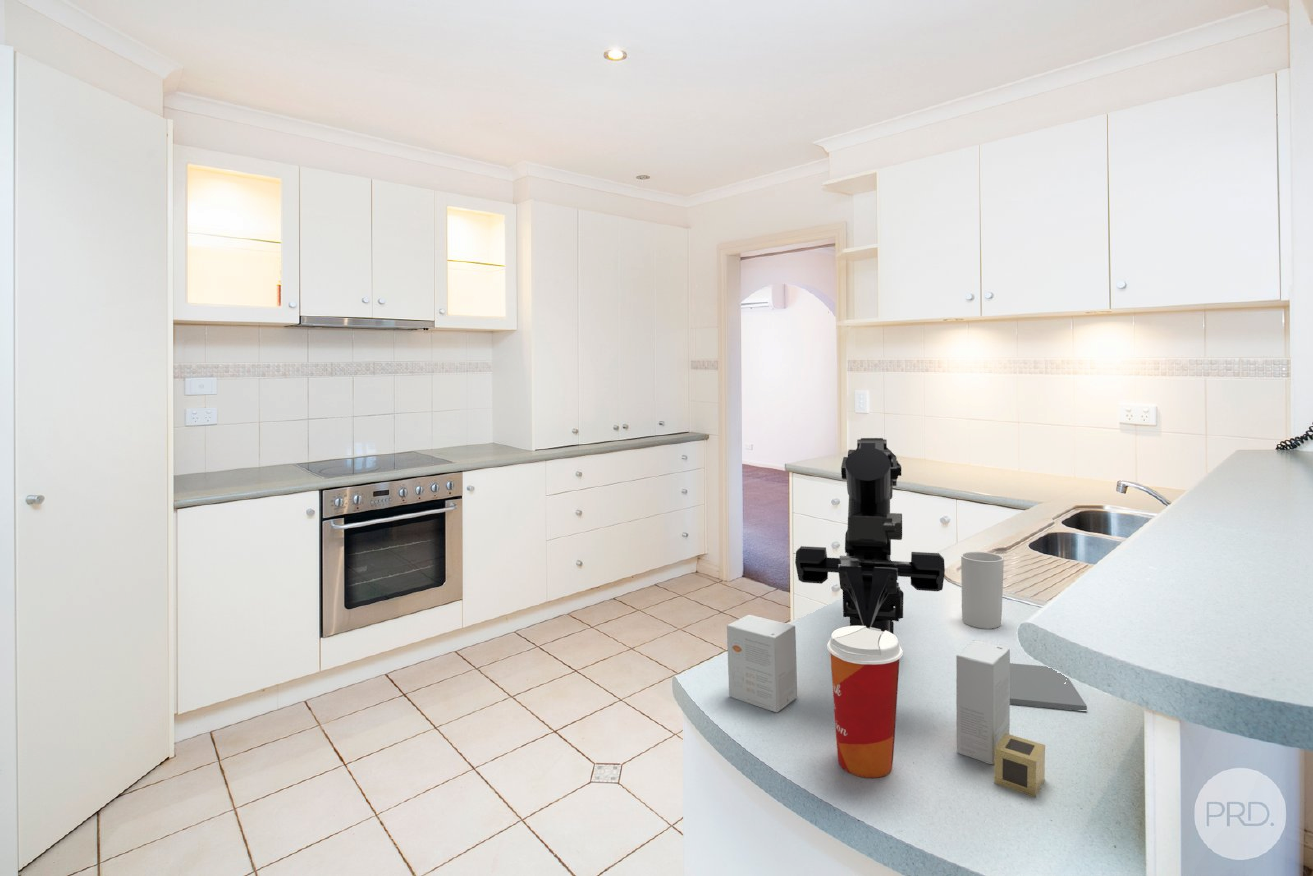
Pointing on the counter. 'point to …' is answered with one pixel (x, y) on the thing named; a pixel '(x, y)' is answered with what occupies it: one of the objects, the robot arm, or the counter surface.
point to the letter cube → (1019, 764)
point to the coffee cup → (865, 698)
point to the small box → (762, 662)
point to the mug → (982, 589)
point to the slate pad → (1042, 688)
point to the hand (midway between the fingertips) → (866, 627)
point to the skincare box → (982, 699)
